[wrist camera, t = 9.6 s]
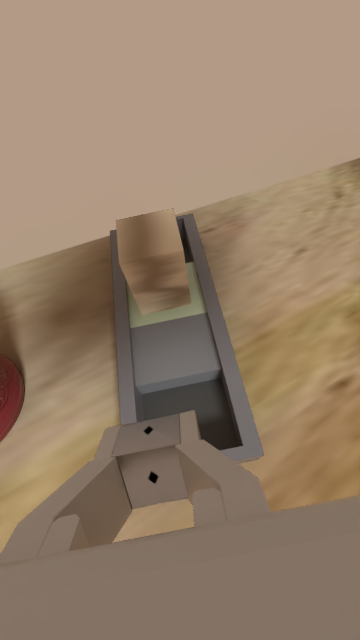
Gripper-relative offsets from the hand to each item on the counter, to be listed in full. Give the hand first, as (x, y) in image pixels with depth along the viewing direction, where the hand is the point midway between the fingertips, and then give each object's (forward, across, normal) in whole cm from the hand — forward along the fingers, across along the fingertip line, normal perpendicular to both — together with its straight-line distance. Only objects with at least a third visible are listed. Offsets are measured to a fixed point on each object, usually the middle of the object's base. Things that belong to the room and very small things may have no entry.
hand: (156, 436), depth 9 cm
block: (+27, 0, -1) cm, 27 cm away
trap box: (+26, 0, +4) cm, 26 cm away
